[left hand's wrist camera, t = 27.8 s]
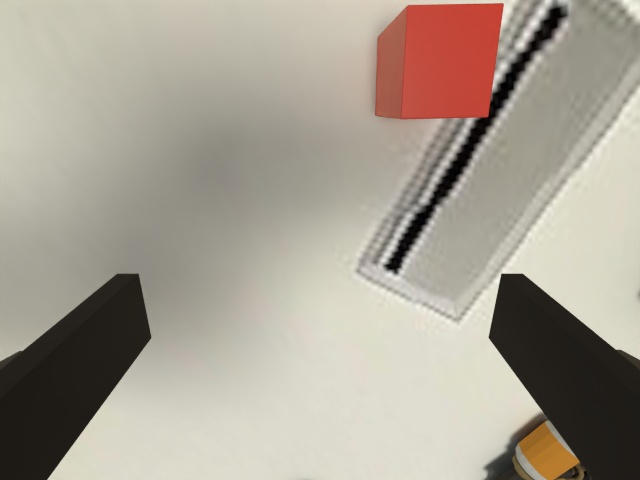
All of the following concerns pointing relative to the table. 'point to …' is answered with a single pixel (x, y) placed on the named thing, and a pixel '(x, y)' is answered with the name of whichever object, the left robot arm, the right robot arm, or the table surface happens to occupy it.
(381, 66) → the block
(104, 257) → the table surface
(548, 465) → the spray gun
